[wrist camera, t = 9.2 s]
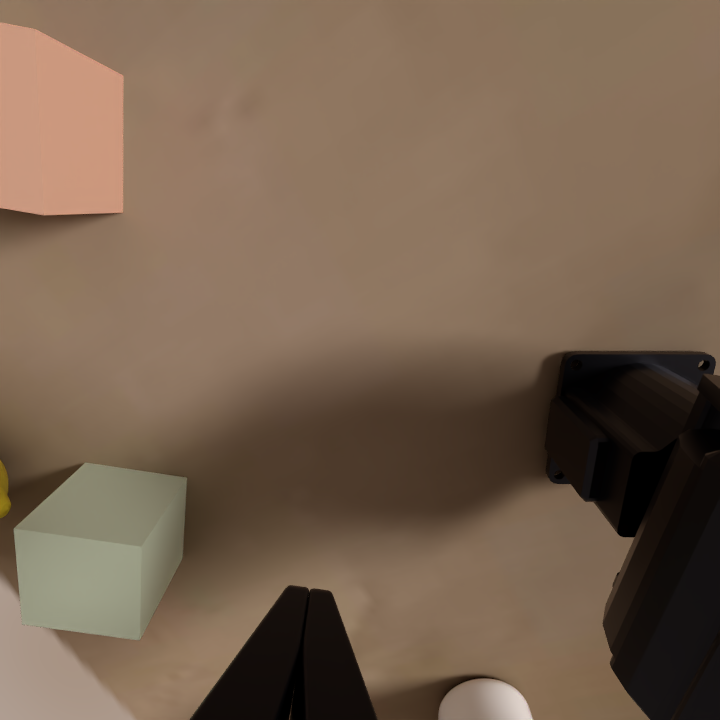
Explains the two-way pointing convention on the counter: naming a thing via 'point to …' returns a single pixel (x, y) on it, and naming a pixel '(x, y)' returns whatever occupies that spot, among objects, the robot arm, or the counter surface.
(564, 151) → the counter surface
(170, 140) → the counter surface
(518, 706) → the drinking glass
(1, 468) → the lemon
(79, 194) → the terracotta block
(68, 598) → the sage block
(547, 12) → the counter surface
